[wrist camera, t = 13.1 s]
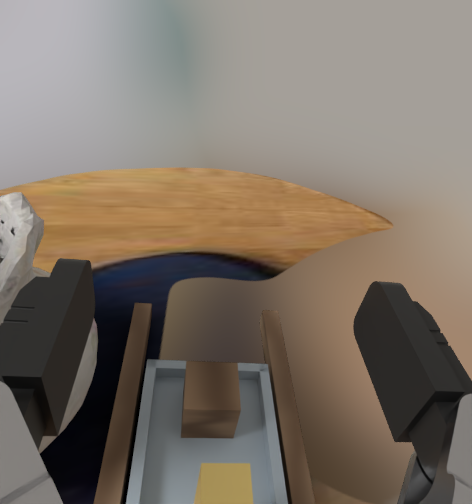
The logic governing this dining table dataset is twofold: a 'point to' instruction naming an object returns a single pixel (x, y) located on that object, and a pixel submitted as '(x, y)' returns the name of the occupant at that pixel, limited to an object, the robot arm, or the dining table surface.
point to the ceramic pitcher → (21, 272)
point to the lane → (128, 397)
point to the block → (210, 400)
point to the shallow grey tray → (205, 445)
